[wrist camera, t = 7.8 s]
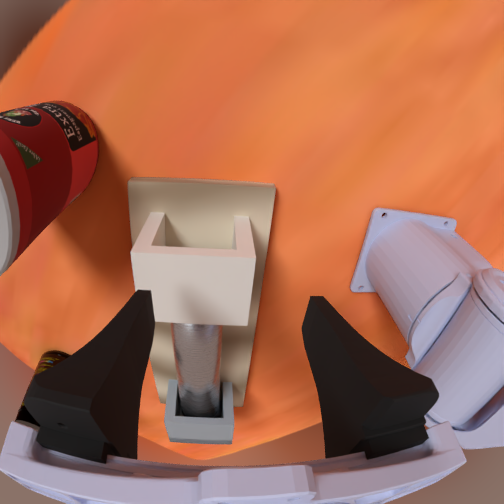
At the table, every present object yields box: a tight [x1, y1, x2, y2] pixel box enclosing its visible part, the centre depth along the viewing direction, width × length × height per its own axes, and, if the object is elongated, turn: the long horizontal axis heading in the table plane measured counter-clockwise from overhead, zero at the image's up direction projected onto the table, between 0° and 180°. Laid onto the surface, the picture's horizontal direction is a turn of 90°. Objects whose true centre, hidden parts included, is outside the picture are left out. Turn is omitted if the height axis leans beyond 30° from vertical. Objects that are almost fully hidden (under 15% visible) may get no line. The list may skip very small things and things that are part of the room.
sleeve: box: [130, 212, 256, 326], centre depth 19 cm, size 5×7×5 cm
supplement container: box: [15, 351, 70, 432], centre depth 25 cm, size 7×7×10 cm
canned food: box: [0, 101, 99, 276], centre depth 13 cm, size 8×8×11 cm
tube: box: [171, 323, 223, 418], centre depth 25 cm, size 19×4×4 cm, turn 174°
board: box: [128, 177, 276, 407], centre depth 27 cm, size 27×10×1 cm, turn 174°
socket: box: [164, 379, 234, 444], centre depth 29 cm, size 5×7×5 cm
